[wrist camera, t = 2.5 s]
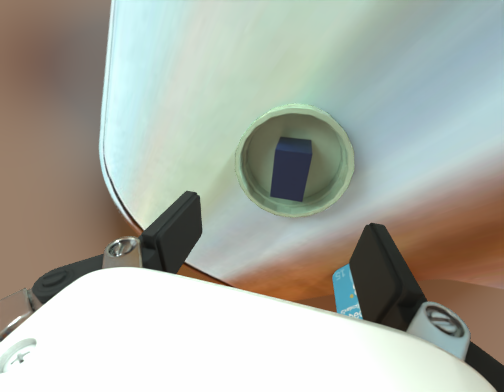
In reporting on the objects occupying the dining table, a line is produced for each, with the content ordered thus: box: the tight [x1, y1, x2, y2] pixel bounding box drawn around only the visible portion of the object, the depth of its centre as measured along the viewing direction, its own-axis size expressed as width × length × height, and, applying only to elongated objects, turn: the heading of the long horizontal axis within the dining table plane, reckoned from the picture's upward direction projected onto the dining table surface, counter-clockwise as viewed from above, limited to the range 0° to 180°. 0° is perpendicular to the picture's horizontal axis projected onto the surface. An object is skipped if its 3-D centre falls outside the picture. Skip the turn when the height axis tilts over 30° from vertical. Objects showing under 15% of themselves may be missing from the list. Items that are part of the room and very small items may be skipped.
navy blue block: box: [270, 137, 313, 202], centre depth 29 cm, size 5×7×6 cm, turn 177°
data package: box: [333, 264, 363, 320], centre depth 35 cm, size 12×4×12 cm, turn 145°
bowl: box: [235, 103, 354, 218], centre depth 30 cm, size 16×16×4 cm
